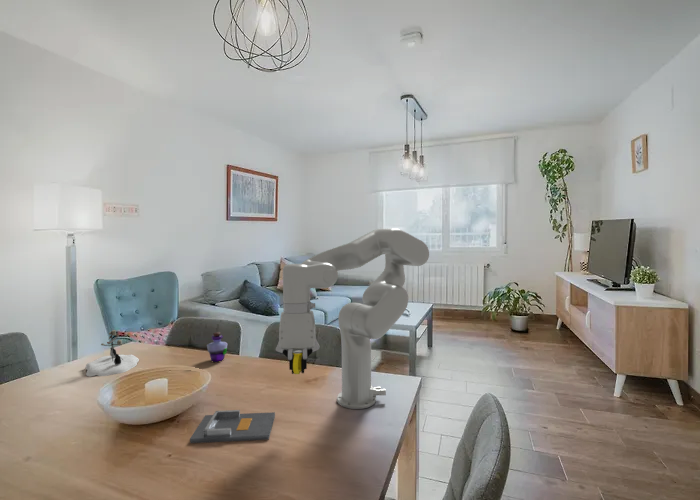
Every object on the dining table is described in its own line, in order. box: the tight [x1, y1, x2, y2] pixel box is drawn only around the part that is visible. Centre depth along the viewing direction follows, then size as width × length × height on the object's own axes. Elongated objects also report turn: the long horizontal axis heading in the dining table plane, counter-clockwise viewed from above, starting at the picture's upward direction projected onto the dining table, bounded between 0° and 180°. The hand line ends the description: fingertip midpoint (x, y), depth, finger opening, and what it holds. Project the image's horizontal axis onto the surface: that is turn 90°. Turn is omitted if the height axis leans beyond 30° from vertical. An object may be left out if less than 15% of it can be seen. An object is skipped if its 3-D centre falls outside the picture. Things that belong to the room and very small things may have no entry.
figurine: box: [85, 329, 140, 377], centre depth 144 cm, size 20×18×16 cm
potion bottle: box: [206, 331, 228, 363], centre depth 152 cm, size 9×9×12 cm
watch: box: [293, 350, 303, 375], centre depth 100 cm, size 6×3×6 cm, turn 174°
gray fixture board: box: [189, 409, 276, 444], centre depth 97 cm, size 20×12×3 cm, turn 94°
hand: (298, 371), depth 100 cm, fingers closed on watch, 2 cm apart
